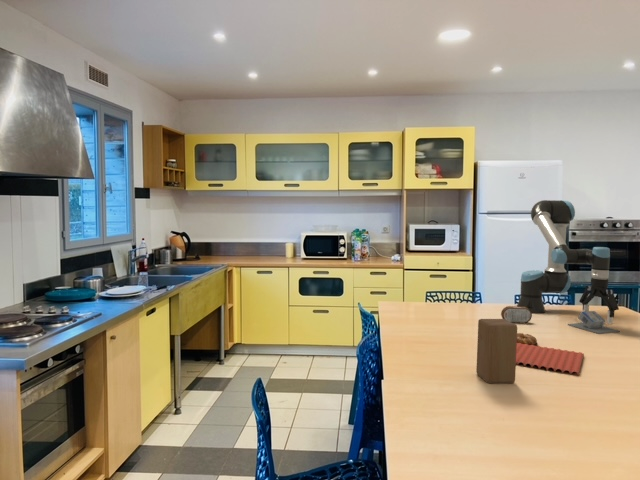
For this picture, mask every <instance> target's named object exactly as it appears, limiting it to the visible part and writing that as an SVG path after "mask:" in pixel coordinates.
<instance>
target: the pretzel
mask: <svg viewBox="0 0 640 480" xmlns="http://www.w3.org/2000/svg"><path fill="white" fill-rule="evenodd" d="M537 341H538V340H537V338H536V337H535V336H533V335H532V334H528V333H526V334H524V333H521V332H517V343H521V344H527V345H534V346H537V344H538V342H537Z"/></svg>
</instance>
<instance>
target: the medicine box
mask: <svg viewBox="0 0 640 480" xmlns="http://www.w3.org/2000/svg"><path fill="white" fill-rule="evenodd" d="M578 319H579V320H580V321H581V323H584V324H585V325H586V326H587V327H588V328H599V327H602V326H604V325H605V322H606V320H605V319H604V318H603V317H601V316H600V315H599V314H598V312H596V311H595V310H589V311H584V312H583V311H581V312H580V314H579V316H578Z"/></svg>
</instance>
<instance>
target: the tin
mask: <svg viewBox="0 0 640 480" xmlns="http://www.w3.org/2000/svg"><path fill="white" fill-rule="evenodd" d="M500 316H501V319H505V320H507V321H509V322H511V323H513V324H527V323H529V322H530V321H531V320H532V318H533V313H531V311H530V310H529V309H528V308H526V307H517V305H516V306H513V305H512V306H511V305H508V306H505V307H503V309H502V310H501V312H500Z"/></svg>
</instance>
